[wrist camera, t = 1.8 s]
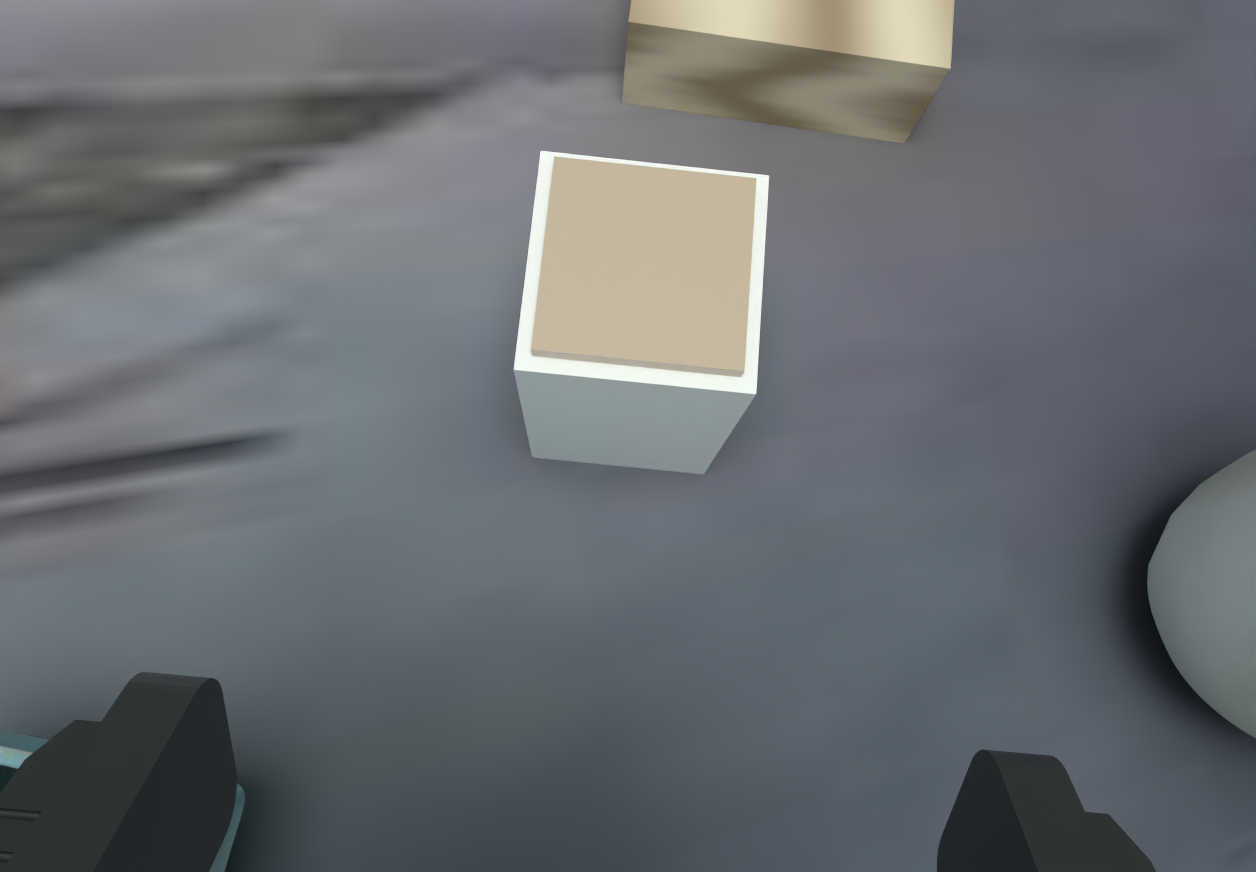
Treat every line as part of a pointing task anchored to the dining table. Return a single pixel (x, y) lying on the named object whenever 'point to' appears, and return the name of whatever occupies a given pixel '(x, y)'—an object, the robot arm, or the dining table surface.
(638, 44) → the pale gold metal block
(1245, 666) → the glass bottle
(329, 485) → the dining table surface
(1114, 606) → the dining table surface
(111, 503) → the dining table surface
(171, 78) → the dining table surface
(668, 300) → the white square container
